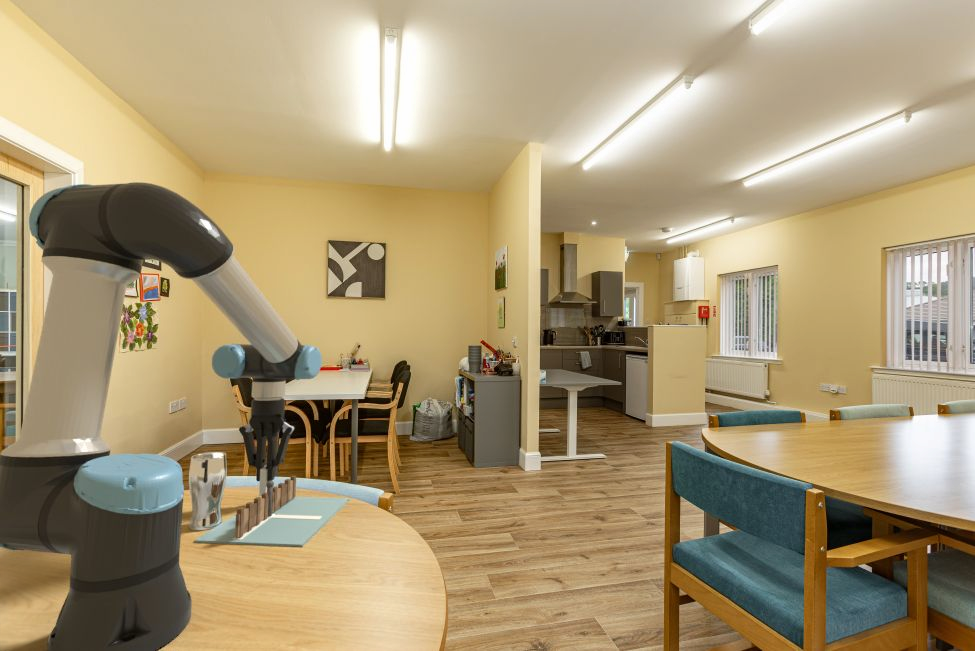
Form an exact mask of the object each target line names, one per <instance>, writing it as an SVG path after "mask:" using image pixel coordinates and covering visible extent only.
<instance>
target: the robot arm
mask: <svg viewBox="0 0 975 651" xmlns="http://www.w3.org/2000/svg"><path fill="white" fill-rule="evenodd" d="M28 225H29V232H30V234H31V236H32V237H34V238H35V239H36V241H35V243H36V245H37V246H38V248H40V249H41V250H42V256H41V263H42V264H43V265H44V266H45V267H46V268H47V269H48V270H49V271H50V272H51V274H52V279H51V284H50V288H49V294H48V298H47V303H46V308H45V312H44V319H43V322H42V327H41V331H40V338H39V342H38V346H37V351H36V352H37V353H36V356H35V362H34V366H33V371H32V376H31V381H30V386H29V391H28V396H27V399H26V400H27V401H26V406H25V409H24V415H23V420H22V425H21V429H20V434H19V438H18V439H17V440H16V441H15V442H14V443H12V444H11V445H9V446H7V447H6V448H4V449H2V450H1V452H0V548H3V549H6V550H11V551H32V552H39V553H40V552H42V553H51V554H59V555H60V554H61V555H69V556H70V557H71V559H70V560H71V561H70V576H69V578H70V579H69V580H70V581H69V589H68V593H67V595H66V597H65V600H64V602H63V604H62V607H61V609H60V612H59V614H58V617H57V619H56V622H55V625H54V627H53V628H52V630H51V632H50V634H49V636H48V639H47V644H46V651H155V650H156V651H158V650H159V649H161V648H163V647H164V646H166V645H167V644H169V643H170V642H172V641H173V640H174V639H175V638H177V637H178V636H179V635H180V634H181V633H182V632H183V631H184V630H185V629H186V627H188V624H189V623H190V620H191V618H192V605H193V604H192V603H193V601H192V596H191V594H190V592H189V590H188V589H187V584H186V582H185V579H184V575H183V572H182V569H181V565H180V554H181V553H180V552H181V551H180V549H181V536H182V534H181V533H182V520H183V504H184V494H185V491H184V490H185V486H184V482H183V478H184V477H183V469H182V466H181V465H180V463H179V462H178V461H176V460H175V459H173V458H171V457H168V456H164V455H160V454H156V453H135V454H134V453H119V454H118V453H117V454H111V450H112V449H111V448H112V447H111V446H110V445H109V444H107V442H106V441H104V440H103V439H102V437H101V434H102V432H101V431H102V427H103V423H104V417H105V416H104V415H105V409H106V406H107V398H108V394H109V387H110V382H111V376H112V369H113V366H114V359H115V353H116V348H117V343H118V338H119V330H120V326H121V320H122V319H121V318H122V315H123V308H124V303H125V296H126V293H127V292H126V291H127V287H128V285H130V284H132V283H133V282H135V281H137V280H139V279H140V278H141V274H142V269H143V263H144V261H145V260H147V261H148V260H154V261H157V262H160V263H163V264H164V265H167V266H168V267H170V268H171V269H172V270H173V271H174V272H175V273H176V274H177V275H178V276H179V277H180V278H182V279H185V280H192V281H193V283H194V284H195V285H196V286H197V287H198V288H199V289H200V291H201V292H202V293H204V294H205V296H207V297H208V299H209V300H210V301H211V302H212V303H213V304H214V305H215V306H216V307H217V309H218V310H219V311H220V312H221V313H222V314H223V315H224V316H225V317H226V318H227V319H228V320H229V322H230V324H232V326H234V327H235V328H236V329H237V331H239V333H240V334H242V336H243V337H244V338H245V339H246V340H247V341H248V342H249V343H250V344H243V343H241V344H239V343H231V344H224V345H221V346H219V347H218V348H216V349H215V351H214V352H213V355H212V358H211V366H212V370H213V371H214V373H215V374H216V375H217V376H218V377H220V378H222V379H234V380H236V379H241V378H251V379H252V380H251V381H252V383H251V397H252V398H253V399H252V400H251V404H250V405H251V407H250V415H251V417H250V419H249V421H248V423H247V424H245V425H243V426H240V427H239V428H238V431H239V432H240V434H241V436H242V437H243V438H242V440H243V444H244V448H245V453H246V459H247V464H248V466H250V467H252V466H253V467H255V469H256V473H255V474H256V477H255V480H256V482H259V490H258V497H262V494H263V493H267V486H266V483H267V482H268V481H273V480H274V479H275V473H276V472H275V471H276V467H278V466H280V465H281V464H283V463H284V460H285V456H286V453H287V449H288V446H289V442H290V438H291V436H292V434H293V432H294V431H295V429H296V427H295V425H290V424H289V423H288V422H287V419H286V418H285V412H286V409H285V406H286V400H285V398H284V397H285V396H286V381H287V380H296V381H299V380H311V379H314V378H316V377H317V376H318V374H319V373H320V370H321V368H322V364H323V356H322V354H321V351H320V349H319V348H318V347H316V346H315V345H309V344H304V345H303V344H301V342H300V341H299V340H298V338H297V337H296V336H295V334H294V333H293V332H292V331H291V329H290V327H288V325H287V324H286V323H285V321H284V320H283V318H282V317H281V316H280V315H279V313H278V312H277V311H276V310H275V309H274V307H273V306H272V304H271V303H270V302H269V300H268V298H266V297H265V295H264V294H263V293H262V291H261V290H260V288H259V286H257V285H256V284H255V282H254V281H253V280H252V278H251V277H250V275H249V274H248V273H247V271H245V269H244V268H243V267H242V265H241V264H240V263H239V261H238V260H237V259H236V257H235V256H234V253H235V246H234V244H233V243H232V241H231V240H230V239H229V238H228V236H227V235H226V234H225V233H224V231H223V230H222V229H221V228H220V227H219V225H218V224H217V223H216V222H215V221H214V220H213V219H212V218H211V217H209V216H208V214H206V213H205V212H204V211H203V210H201V209H200V208H199V207H198V206H196V205H195V204H194V203H192V201H190V200H189V199H186V197H183V196H181V195H180V194H178V192H175V191H173V190H171V189H169V188H167V187H163V186H162V185H158V184H156V183H155V184H154V183H149V182H127V183H112V184H111V183H110V184H107V183H106V184H86V183H85V184H84V183H83V184H72V185H68V186H65V187H58V188H55V189H53V190H49V191H47V192H46V193H44V194H43V195H41V196H39V198H38V199H37V200H36V202H34V204H33V206H32V207H31V210H30V212H29V217H28ZM281 430H282V436H281V438H280V441H279V444H277V441H278V436H279V433H280V431H281ZM253 431H254V433H255V437H254V435H253ZM254 438H255V439H254ZM255 440H256V443H255ZM255 444H256V445H255ZM277 445H278V447H277ZM277 448H278V449H277ZM177 635H178V636H177ZM172 639H173V640H172ZM168 642H169V643H168ZM160 647H161V648H160Z"/></svg>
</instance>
